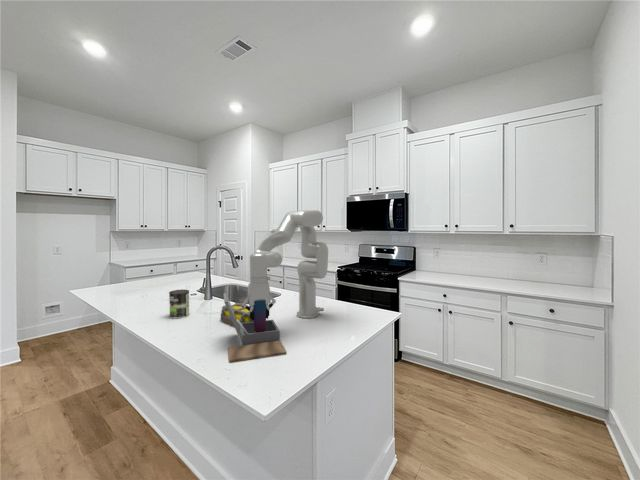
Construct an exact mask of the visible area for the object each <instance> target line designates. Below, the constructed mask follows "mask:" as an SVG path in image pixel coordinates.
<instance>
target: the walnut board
mask: <svg viewBox="0 0 640 480" xmlns="http://www.w3.org/2000/svg"><path fill="white" fill-rule="evenodd" d="M227 354H228V363H230V364H231V363H237V362H244V361H250V360H256V359H262V358H269V357H270V358H271V357H275V356H276V357H277V356H283V355H287V349H286V348H285V347H284V345H283V343H282V341H281V340H279V341H272V342H265V343H257V344H250V345H243V346H242V345H237V346H230V347H229V346H228V347H227Z"/></svg>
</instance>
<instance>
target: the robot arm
mask: <svg viewBox="0 0 640 480" xmlns="http://www.w3.org/2000/svg"><path fill="white" fill-rule="evenodd" d="M323 219H324V216H323V213H322V212H321V211H320V210H316V209H314V210H297V211H296V210H295V211H288V212H286V214H284V217H283V218H282V220H281V222H280V223H279V225H278V227H277V228H276V230H275V231H274V232H273V233H272V234H271V235H269V236H267V237H266V238H265V239H264V240H263V241H261V242H260V244H259V245H258V247H257V249H256V250H255V252H254V253H252V254H250V256H249V272H250V273H249V274H250V275H249V276H250V277H249V278H250V281H249V283H248V284H247V297H246V299H245V300H244V301H243V302H241V303H242V306H244V307H245V308H246V309H247V310H248V311H250V318H251V319H252V321H253V320H254V316H253V306H254V301H263V300H266V320H269V317H270V310H271V309H272V307H273V306H274V305H275V304H276V303H277V300H276V299H275V298H274V297H273V296H272V295H271V288H270V284H269V283H270V282H269V281H270V280H271V276H268V268H277V267H279V266H280V265H281V264H282V262H283V256H282V254H281V253H279V251H278V252H277V251H272V250H273V249H275V248H278V247H279V246H282V245H284V244H287V243H289V242H290V241H291V239H292V237H293V235H294V234H295V232H296V230H297V228H298V229H300V231H301V245H300V247H301V248H300V250H301V251H300V253H301V254H300V255H301V256H302V257H303V258H306V259H307V260H301V261H299V262H298V264H297V275H298V288H299V289H298V290H299V291H298V295H299V296H298V299H299V300H298V302H299V303H298V307H299V309H298V310H299V311H297V312H296V317H298V318H301V319H314V318H316V317H318V316H319V312H324V311H325V308H324V307H319V306H318V307H317V305H316V304H317V302H316V299H317V296H316V295H317V294H316V293H317V291H316V289H317V285H316V282H315V279H320V280H322V279H324V278H326V276H327V273H328V266H329V247H328V245H327V244H326V243H325V242H322V241H318V240H317V236H318V235H317V231H316V229H315V227H319V226H320V225H321V224H322V223H323ZM308 259H309V260H308ZM310 259H313V260H310ZM314 259H316V260H314ZM249 306H250V307H249Z"/></svg>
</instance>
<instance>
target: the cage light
mask: <svg viewBox="0 0 640 480" xmlns="http://www.w3.org/2000/svg"><path fill="white" fill-rule="evenodd" d="M242 303H243V302H235V303H234V304H231V306H232V309H233V311H234V313H235V316H236V318H237V319H238V320H239V322H240V323H246V322H254V320H253V321H252V319H251V318H250V311H248V310H247V309H246V308H245V307H244V306H242ZM248 306H249V307H250V305H248ZM220 322H221V323H222V324H225V325H227V326H231V327H232V328H235V327H234V324H233V322H232V319H231V317H230V315H229V312H228V310H227V307H226V305H223V306H222V307H221V313H220ZM239 327H240V325H239Z"/></svg>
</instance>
